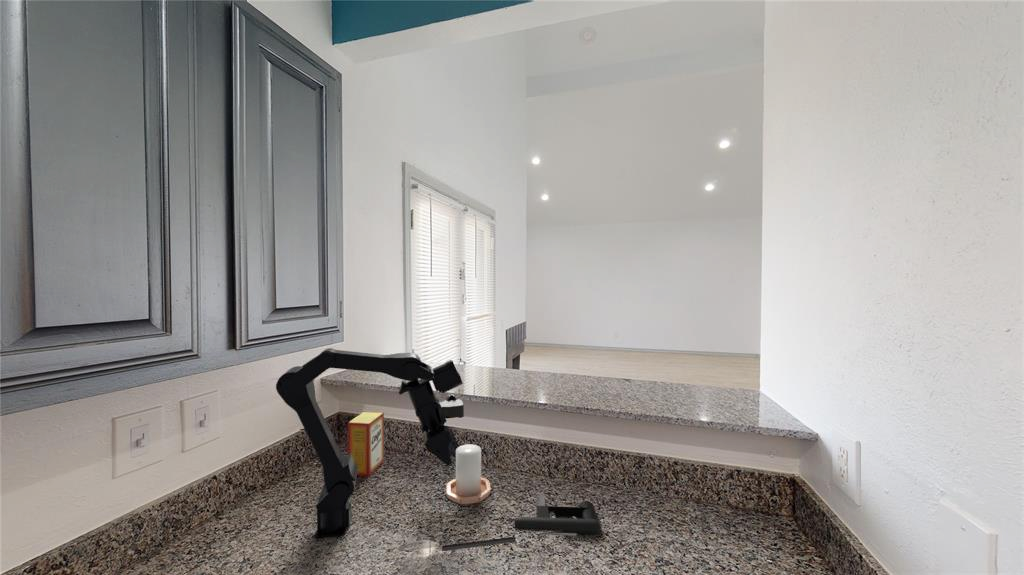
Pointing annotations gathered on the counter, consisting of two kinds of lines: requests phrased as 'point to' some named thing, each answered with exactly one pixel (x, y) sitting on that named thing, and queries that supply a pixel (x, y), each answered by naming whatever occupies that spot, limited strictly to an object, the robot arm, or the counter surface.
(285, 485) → the counter surface
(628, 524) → the counter surface
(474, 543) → the dark grey flat plate
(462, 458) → the white smooth rounded cylinder
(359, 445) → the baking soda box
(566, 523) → the door handle
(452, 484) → the dish
